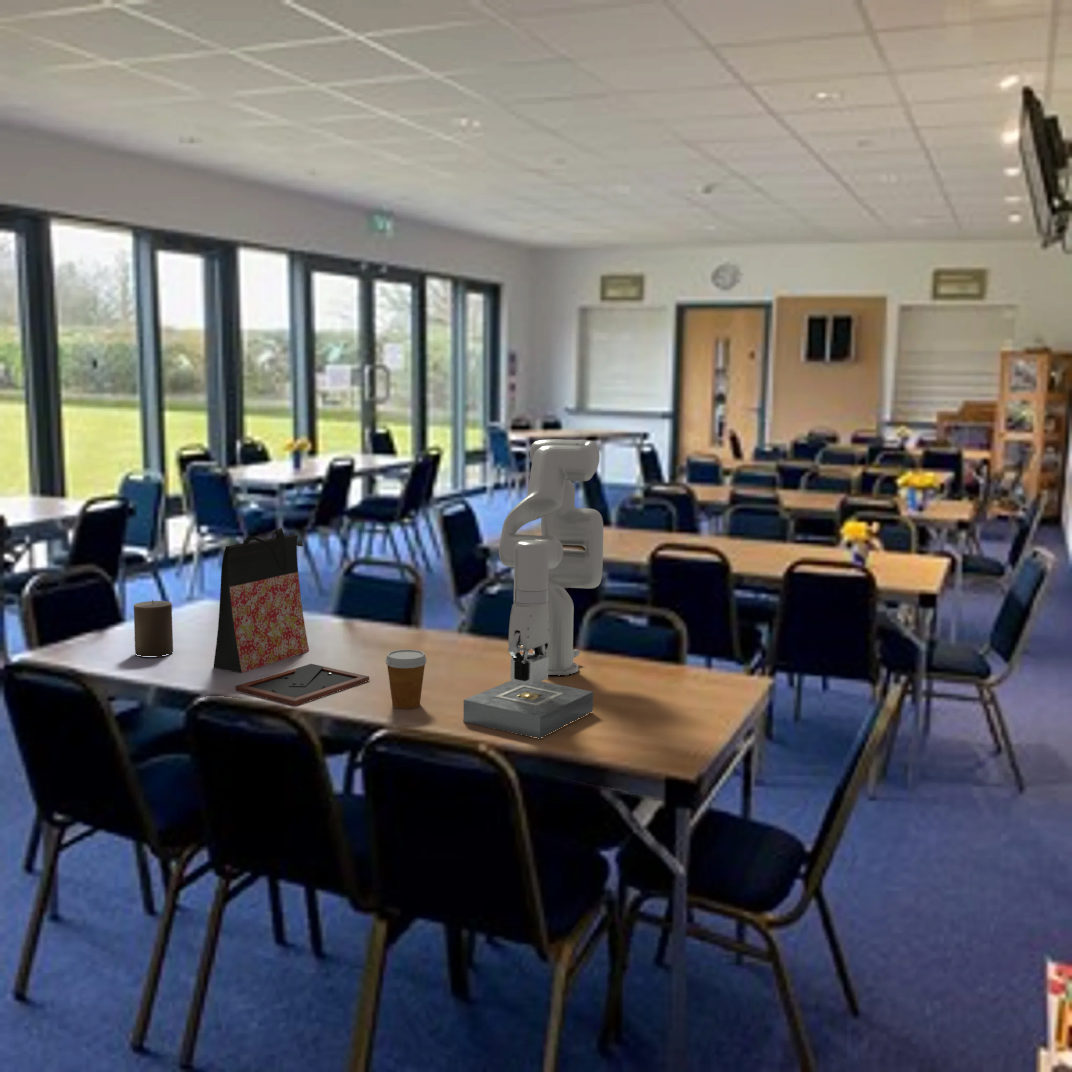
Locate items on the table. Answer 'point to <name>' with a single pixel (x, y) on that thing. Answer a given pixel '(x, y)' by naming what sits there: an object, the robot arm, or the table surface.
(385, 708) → the table surface
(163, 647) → the pillar candle
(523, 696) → the brass pin
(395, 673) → the disposable coffee cup
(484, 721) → the block
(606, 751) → the table surface
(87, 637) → the table surface
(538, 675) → the block
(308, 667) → the picture frame
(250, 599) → the gift bag
